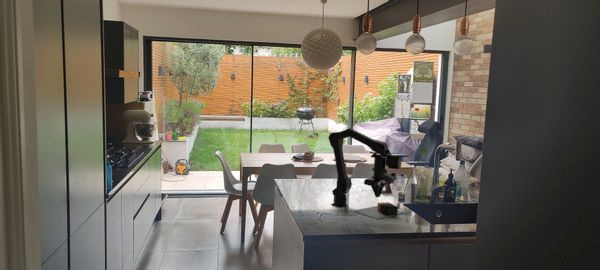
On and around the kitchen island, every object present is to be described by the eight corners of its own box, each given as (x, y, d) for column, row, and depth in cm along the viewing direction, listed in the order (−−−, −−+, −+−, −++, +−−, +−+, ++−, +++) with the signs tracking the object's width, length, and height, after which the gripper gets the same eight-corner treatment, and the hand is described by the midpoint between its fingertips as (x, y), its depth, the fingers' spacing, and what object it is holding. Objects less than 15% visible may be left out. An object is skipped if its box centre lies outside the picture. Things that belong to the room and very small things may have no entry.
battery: (385, 216, 213) (376, 210, 222) (397, 215, 215) (388, 209, 224) (386, 207, 212) (376, 202, 222) (398, 206, 214) (388, 201, 224)
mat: (353, 211, 220) (353, 210, 220) (378, 206, 233) (378, 205, 232) (377, 219, 208) (377, 218, 208) (403, 213, 220) (403, 212, 220)
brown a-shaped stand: (378, 193, 263) (379, 173, 262) (374, 190, 269) (375, 171, 268) (392, 193, 265) (393, 174, 264) (388, 190, 271) (389, 172, 269)
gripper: (384, 171, 205) (382, 203, 207) (403, 167, 219) (400, 197, 221) (364, 167, 213) (362, 198, 214) (383, 164, 227) (382, 193, 228)
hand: (377, 197), depth 219 cm, fingers closed
